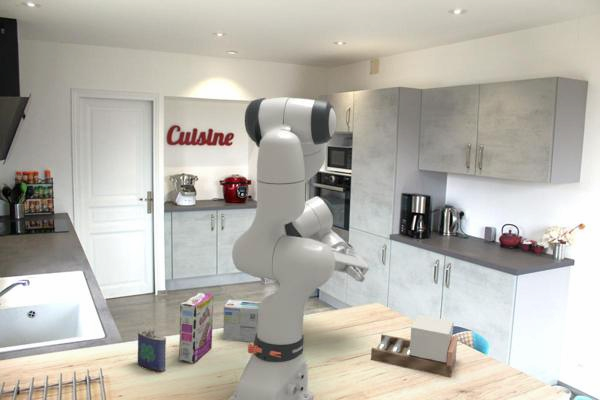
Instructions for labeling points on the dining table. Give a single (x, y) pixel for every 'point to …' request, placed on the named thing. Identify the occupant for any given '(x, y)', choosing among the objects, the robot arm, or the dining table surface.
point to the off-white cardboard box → (431, 338)
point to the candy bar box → (195, 327)
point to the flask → (151, 351)
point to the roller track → (398, 354)
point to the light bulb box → (240, 320)
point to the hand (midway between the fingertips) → (361, 279)
